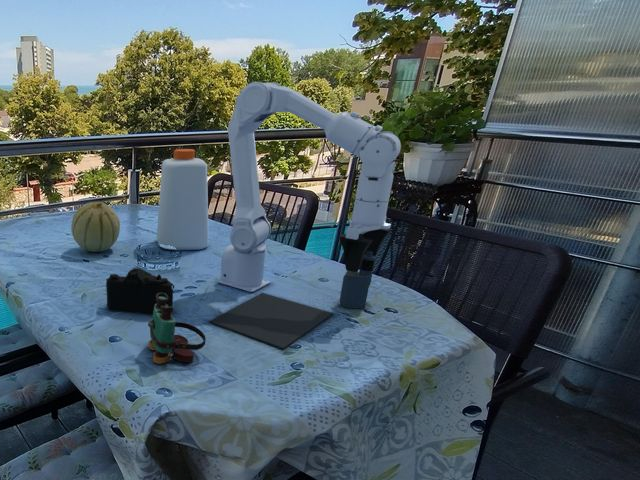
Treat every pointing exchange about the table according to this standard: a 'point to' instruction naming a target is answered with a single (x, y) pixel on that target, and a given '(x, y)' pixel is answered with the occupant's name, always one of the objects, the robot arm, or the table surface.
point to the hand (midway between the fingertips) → (359, 266)
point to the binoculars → (170, 334)
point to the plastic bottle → (183, 202)
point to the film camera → (136, 291)
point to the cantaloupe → (95, 227)
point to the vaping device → (357, 284)
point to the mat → (272, 320)
